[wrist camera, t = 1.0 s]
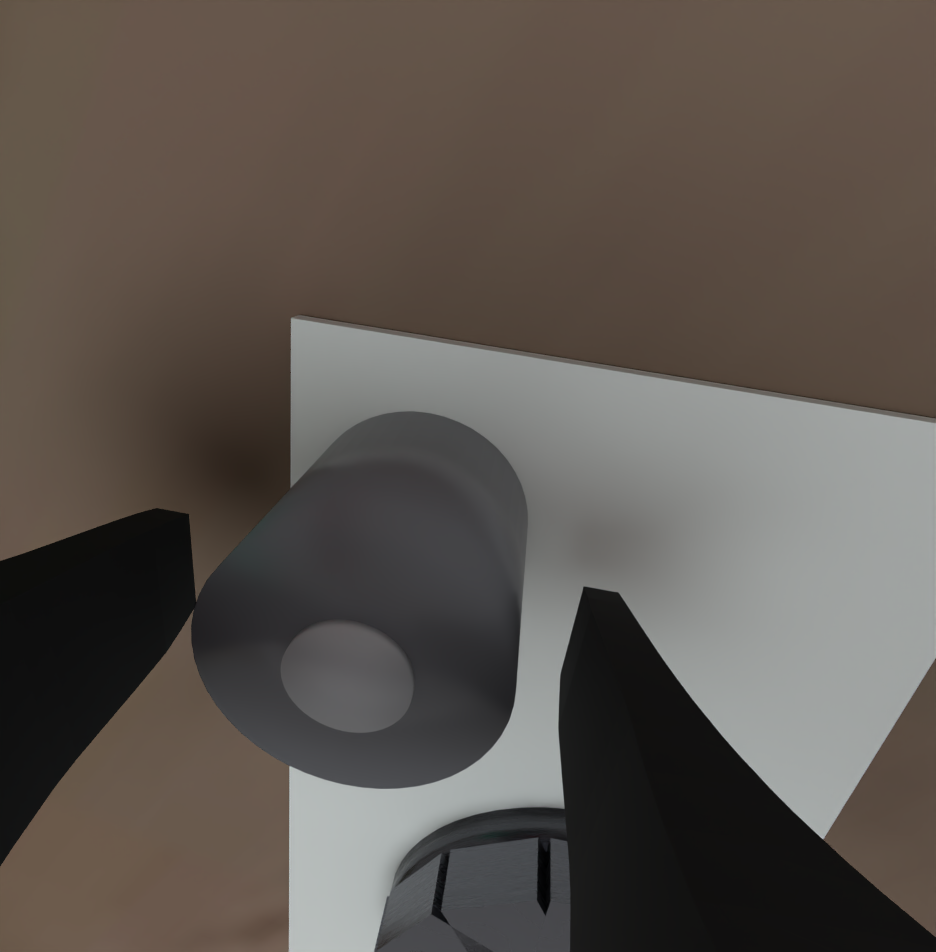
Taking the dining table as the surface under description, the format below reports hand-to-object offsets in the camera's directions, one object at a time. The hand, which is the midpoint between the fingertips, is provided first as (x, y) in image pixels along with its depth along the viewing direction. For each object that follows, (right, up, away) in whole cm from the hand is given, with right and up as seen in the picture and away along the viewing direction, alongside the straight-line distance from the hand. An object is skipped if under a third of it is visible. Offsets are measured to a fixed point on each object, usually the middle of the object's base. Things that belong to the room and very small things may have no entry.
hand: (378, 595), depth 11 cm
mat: (+4, -7, +6) cm, 10 cm away
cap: (+1, +1, +3) cm, 3 cm away
